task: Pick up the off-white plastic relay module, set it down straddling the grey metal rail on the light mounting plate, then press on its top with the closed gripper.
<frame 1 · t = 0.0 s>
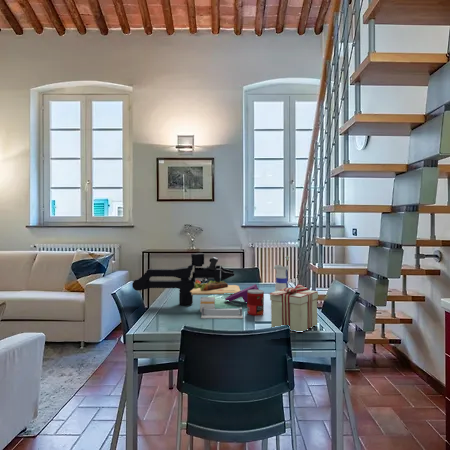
hand: (234, 273, 204), 17 cm above the table, tool horizontal, fingers open, 9 cm apart
gift box: (290, 327, 165), on the table
relay module: (207, 310, 191), on the table
cutting board: (211, 292, 241), on the table
canned food: (255, 314, 185), on the table
water bottle: (281, 300, 215), on the table
mounting bracket: (241, 303, 209), on the table
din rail: (221, 315, 181), on the table
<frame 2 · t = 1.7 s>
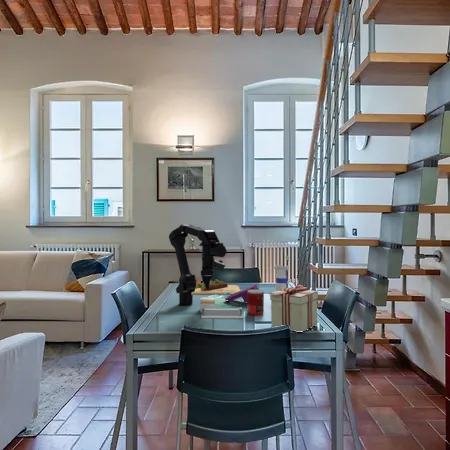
hand: (207, 287, 191), 11 cm above the table, tool pointing down, fingers open, 9 cm apart
nothing on the table moved.
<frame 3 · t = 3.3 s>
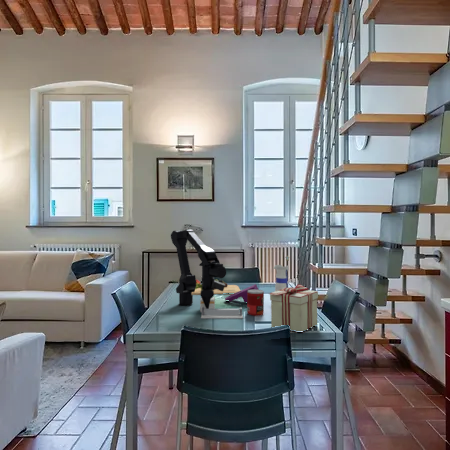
hand: (207, 307, 191), 2 cm above the table, tool pointing down, fingers closed on relay module, 6 cm apart
relay module: (207, 310, 191), on the table, touching gripper
everything else where it was.
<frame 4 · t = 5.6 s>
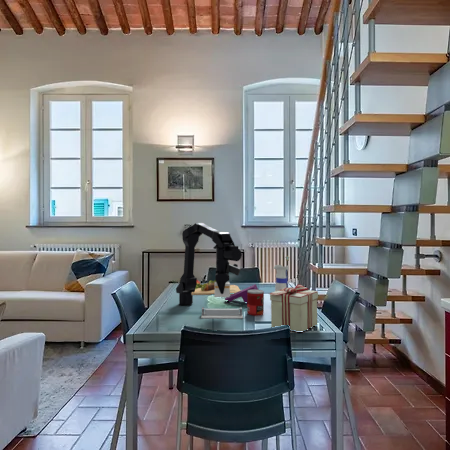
hand: (222, 292, 181), 11 cm above the table, tool pointing down, fingers closed on relay module, 6 cm apart
relay module: (222, 295, 181), point 9 cm above the table, touching gripper
everything else where it was.
when the fingers open (4 cm above the table, at t = 7.6 s): relay module drops 1 cm, resting on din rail.
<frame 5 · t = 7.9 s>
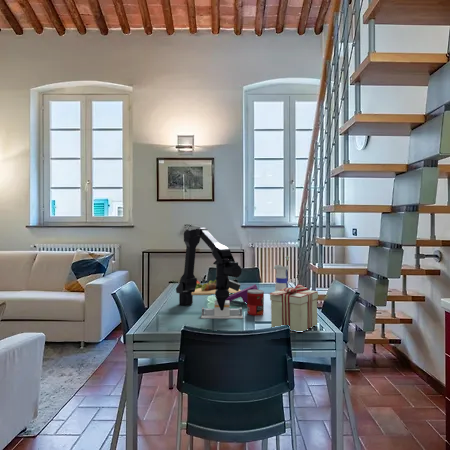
hand: (221, 308, 181), 4 cm above the table, tool pointing down, fingers open, 8 cm apart
relay module: (221, 314, 181), point 1 cm above the table, touching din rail
everything else where it was.
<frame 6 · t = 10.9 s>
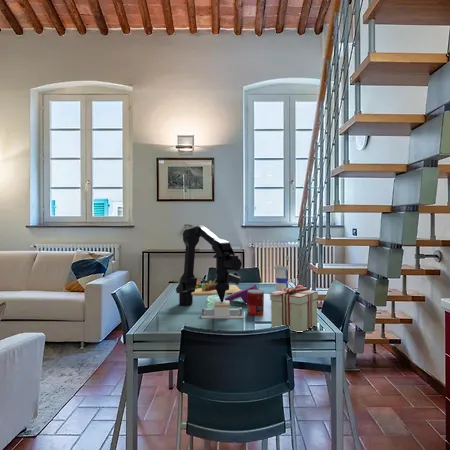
hand: (222, 301, 181), 7 cm above the table, tool pointing down, fingers closed
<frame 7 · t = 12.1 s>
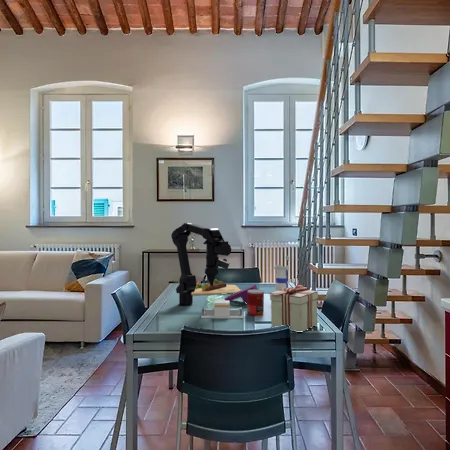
hand: (211, 285, 190), 12 cm above the table, tool pointing down, fingers closed
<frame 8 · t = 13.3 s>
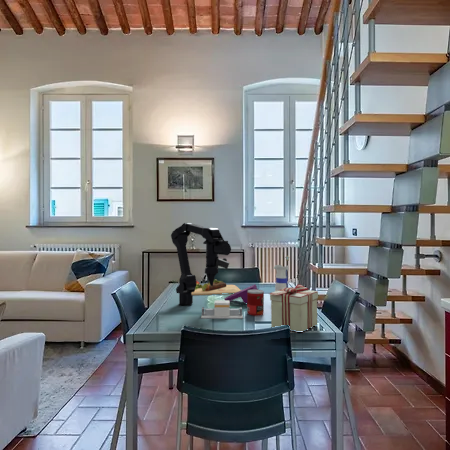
hand: (211, 285, 190), 13 cm above the table, tool pointing down, fingers closed
at the end: relay module inside the target area on the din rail (0.1 cm from its centre), point 0.6 cm above the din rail's base; relay module tilted 0°; the gripper is holding nothing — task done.
